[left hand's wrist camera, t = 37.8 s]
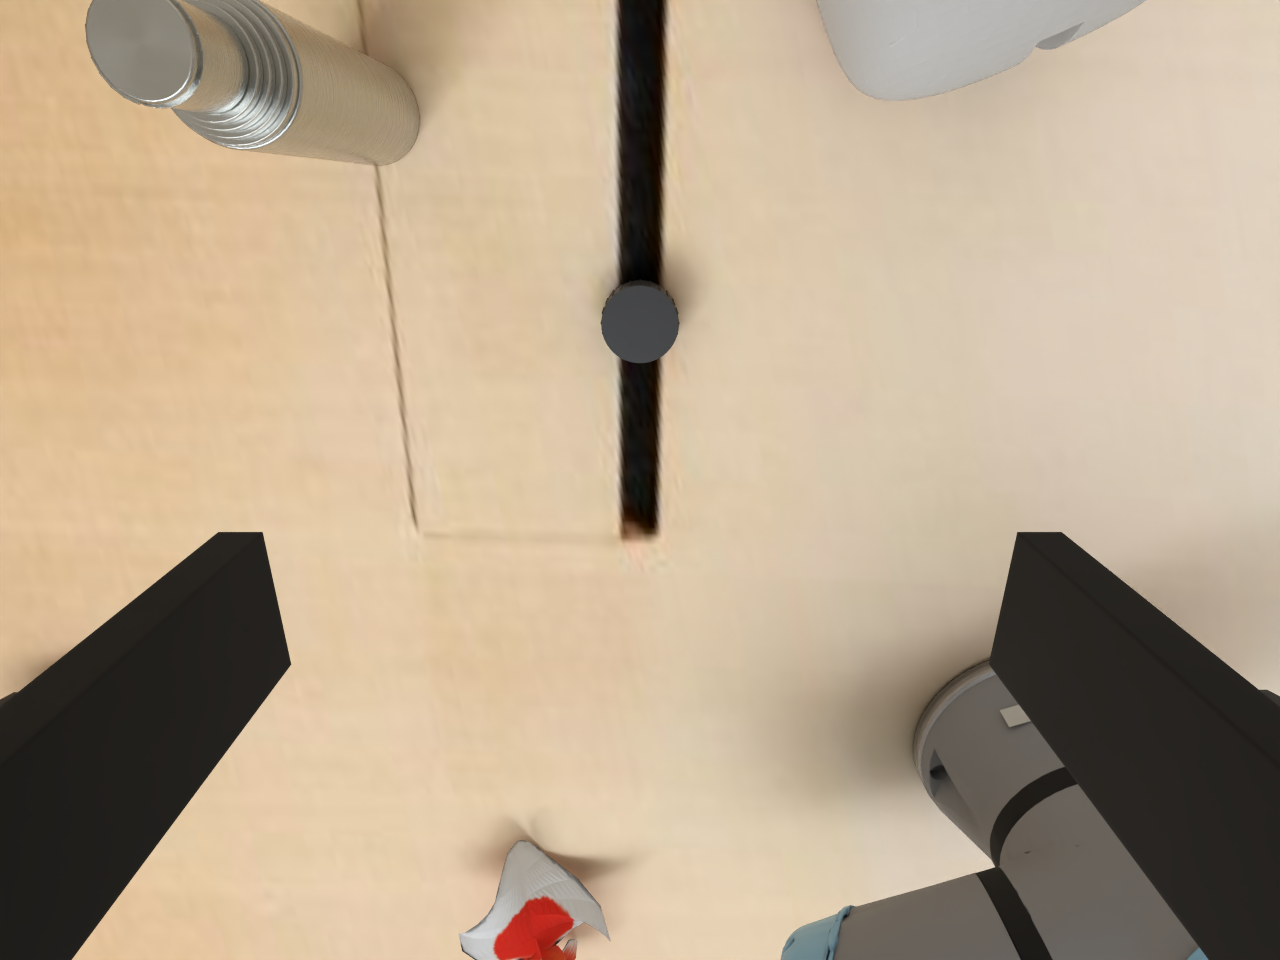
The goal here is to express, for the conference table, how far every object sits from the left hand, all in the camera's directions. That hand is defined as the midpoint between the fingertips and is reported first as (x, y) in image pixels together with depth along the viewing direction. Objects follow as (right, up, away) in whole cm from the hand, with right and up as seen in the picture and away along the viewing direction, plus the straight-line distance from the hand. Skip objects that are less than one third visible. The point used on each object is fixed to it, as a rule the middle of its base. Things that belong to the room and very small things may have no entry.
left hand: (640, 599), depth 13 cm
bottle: (-14, +21, +25) cm, 36 cm away
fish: (-8, -32, +46) cm, 57 cm away
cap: (0, +12, +29) cm, 31 cm away
